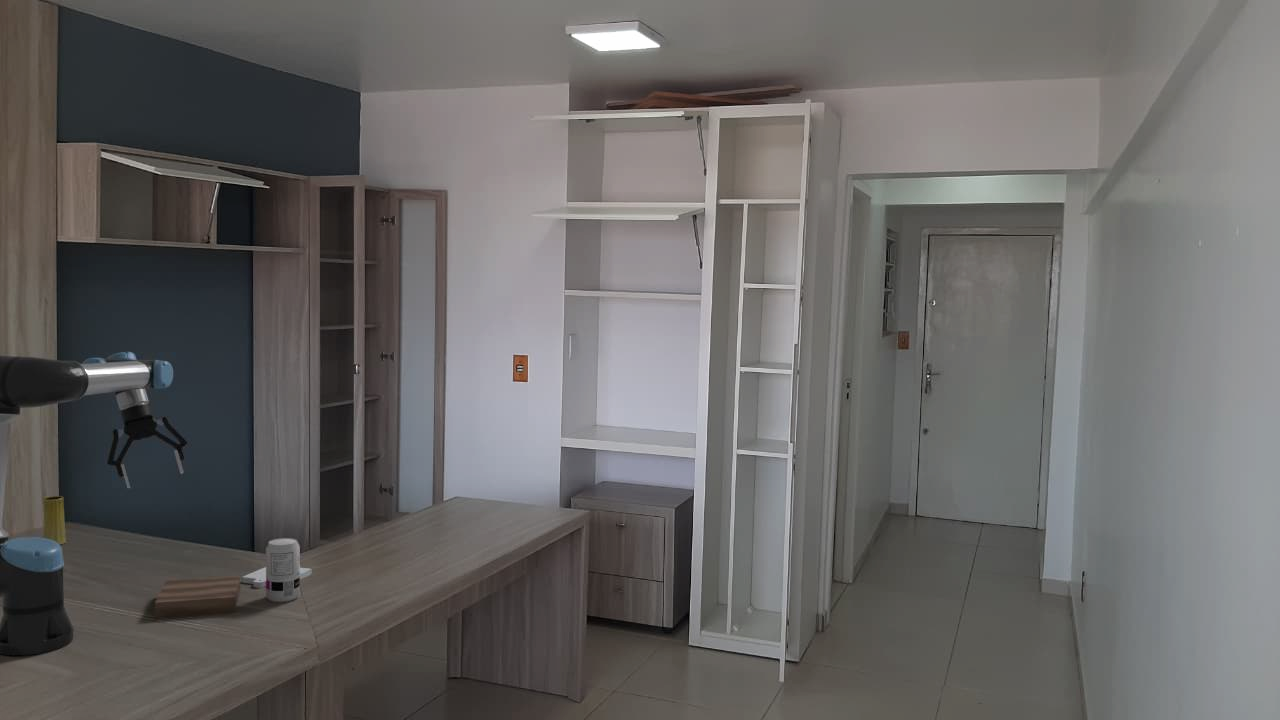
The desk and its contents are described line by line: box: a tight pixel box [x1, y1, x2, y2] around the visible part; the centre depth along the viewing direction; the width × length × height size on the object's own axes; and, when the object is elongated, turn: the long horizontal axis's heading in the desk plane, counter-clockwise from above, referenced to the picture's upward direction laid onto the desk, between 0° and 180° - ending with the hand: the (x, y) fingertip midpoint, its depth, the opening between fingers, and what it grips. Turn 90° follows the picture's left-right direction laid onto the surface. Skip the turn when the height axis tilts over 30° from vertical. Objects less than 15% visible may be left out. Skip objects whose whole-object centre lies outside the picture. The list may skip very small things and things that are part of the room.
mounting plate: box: [241, 566, 313, 589], centre depth 271 cm, size 18×13×2 cm
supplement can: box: [265, 537, 301, 603], centre depth 254 cm, size 8×8×15 cm
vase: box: [43, 495, 67, 546], centre depth 299 cm, size 6×6×14 cm
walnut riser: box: [154, 575, 241, 619], centre depth 248 cm, size 18×18×4 cm
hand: (155, 480), depth 269 cm, fingers open, 13 cm apart
